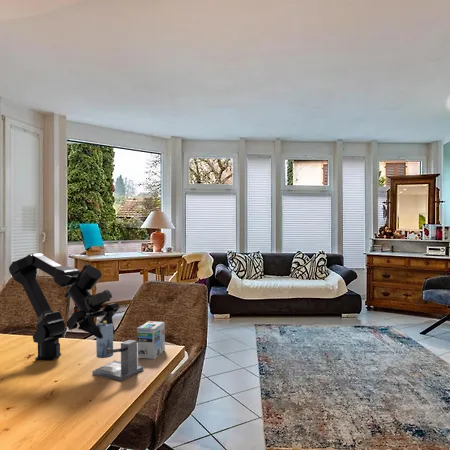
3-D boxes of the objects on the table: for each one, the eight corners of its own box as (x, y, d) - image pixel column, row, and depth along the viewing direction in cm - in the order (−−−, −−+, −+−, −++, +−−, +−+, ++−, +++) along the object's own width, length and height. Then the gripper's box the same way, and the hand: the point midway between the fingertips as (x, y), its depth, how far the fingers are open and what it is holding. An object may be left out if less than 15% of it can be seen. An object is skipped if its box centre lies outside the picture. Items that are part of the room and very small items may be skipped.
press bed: (81, 379, 117) (80, 344, 117) (115, 364, 130) (114, 332, 130) (110, 386, 112) (110, 349, 112) (143, 370, 125) (143, 337, 125)
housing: (97, 359, 122) (96, 323, 122) (95, 354, 127) (95, 320, 127) (114, 356, 124) (113, 321, 124) (112, 352, 129) (111, 318, 129)
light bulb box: (154, 359, 135) (154, 328, 135) (136, 358, 136) (136, 327, 136) (165, 350, 146) (165, 321, 146) (148, 349, 147) (148, 320, 147)
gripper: (72, 286, 120) (99, 326, 114) (115, 279, 136) (140, 313, 131) (55, 310, 123) (80, 349, 118) (99, 300, 140) (122, 334, 134)
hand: (107, 335), depth 125 cm, fingers closed on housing, 5 cm apart
